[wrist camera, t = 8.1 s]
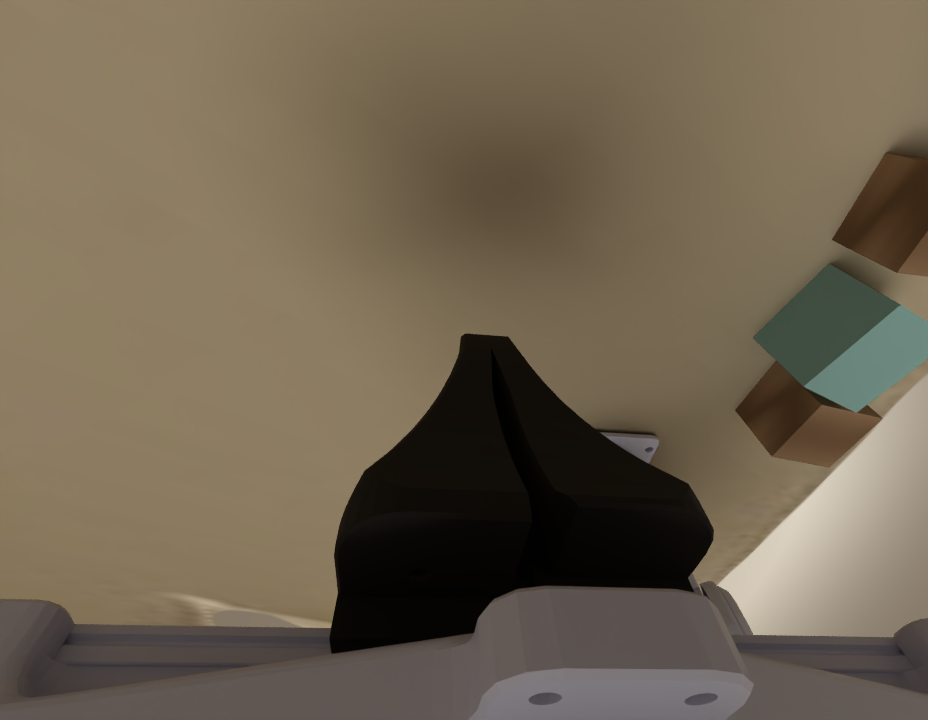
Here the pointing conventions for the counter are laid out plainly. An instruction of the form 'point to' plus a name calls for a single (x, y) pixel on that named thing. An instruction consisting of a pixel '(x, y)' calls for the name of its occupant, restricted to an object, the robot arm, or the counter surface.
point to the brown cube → (891, 216)
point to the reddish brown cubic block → (802, 420)
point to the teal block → (845, 339)
